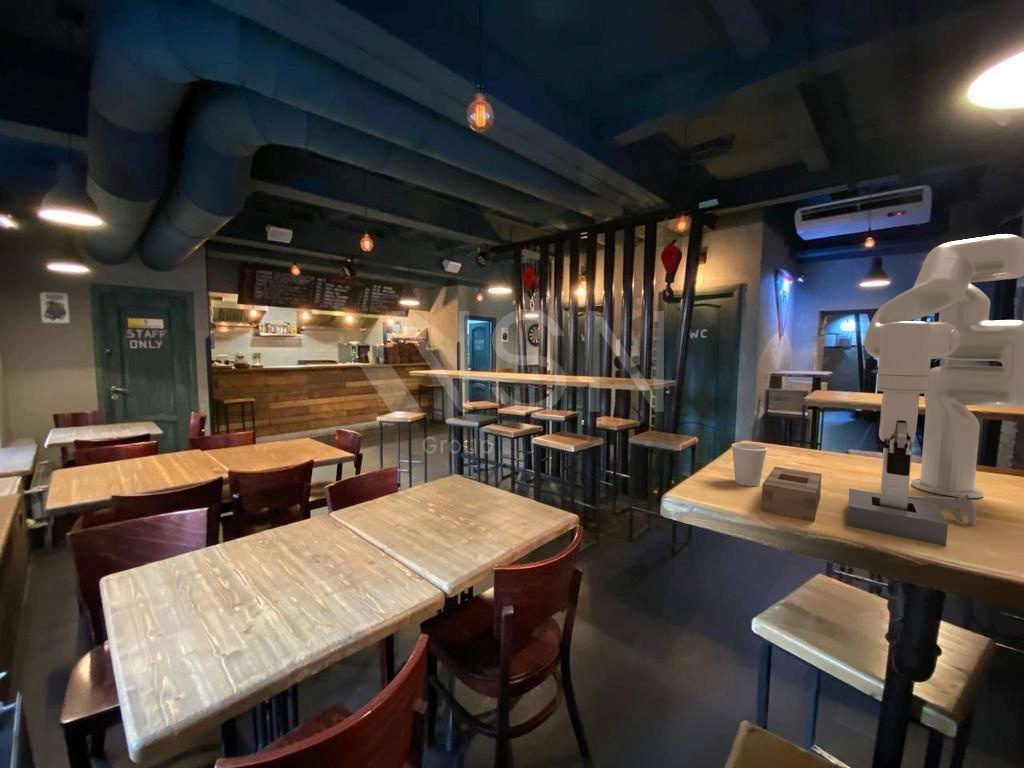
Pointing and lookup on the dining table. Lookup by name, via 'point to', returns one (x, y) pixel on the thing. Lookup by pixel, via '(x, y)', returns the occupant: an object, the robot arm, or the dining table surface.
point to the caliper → (953, 505)
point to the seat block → (897, 517)
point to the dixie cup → (748, 463)
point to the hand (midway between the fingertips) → (895, 469)
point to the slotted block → (792, 493)
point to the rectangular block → (893, 487)
